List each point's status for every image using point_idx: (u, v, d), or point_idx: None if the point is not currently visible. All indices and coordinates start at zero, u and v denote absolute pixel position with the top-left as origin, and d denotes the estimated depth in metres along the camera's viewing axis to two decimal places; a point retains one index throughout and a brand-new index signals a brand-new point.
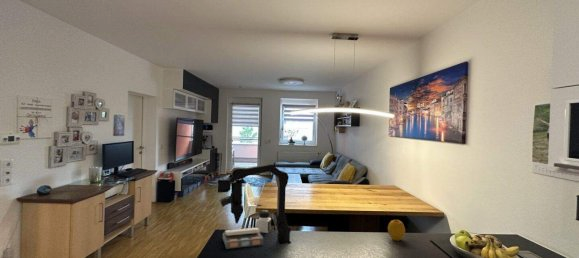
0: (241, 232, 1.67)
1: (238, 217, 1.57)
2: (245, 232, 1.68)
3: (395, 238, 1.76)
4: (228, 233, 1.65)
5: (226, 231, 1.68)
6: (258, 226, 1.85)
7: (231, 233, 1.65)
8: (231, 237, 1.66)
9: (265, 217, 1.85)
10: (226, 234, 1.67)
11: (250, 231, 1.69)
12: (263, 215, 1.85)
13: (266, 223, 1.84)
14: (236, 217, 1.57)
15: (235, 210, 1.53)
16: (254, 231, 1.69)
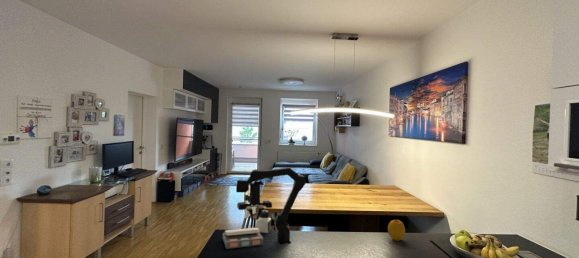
0: (241, 232, 1.67)
1: (250, 215, 1.68)
2: (245, 232, 1.68)
3: (395, 238, 1.76)
4: (228, 233, 1.65)
5: (226, 231, 1.68)
6: (258, 226, 1.85)
7: (231, 233, 1.65)
8: (231, 237, 1.66)
9: (265, 217, 1.85)
10: (226, 234, 1.67)
11: (250, 231, 1.69)
12: (263, 215, 1.85)
13: (266, 223, 1.84)
14: (250, 214, 1.69)
15: (237, 206, 1.68)
16: (254, 231, 1.69)
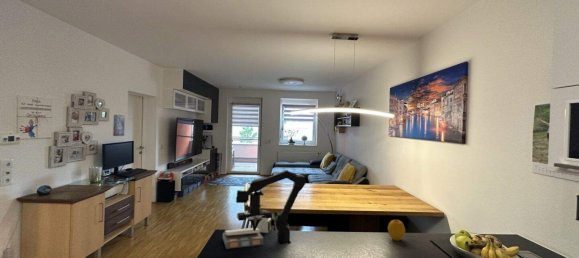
0: (241, 232, 1.67)
1: (252, 225, 1.69)
2: (245, 232, 1.68)
3: (395, 238, 1.76)
4: (228, 233, 1.65)
5: (226, 231, 1.68)
6: (258, 226, 1.85)
7: (231, 233, 1.65)
8: (231, 237, 1.66)
9: (265, 217, 1.85)
10: (226, 234, 1.67)
11: (250, 231, 1.69)
12: None
13: (266, 223, 1.84)
14: None
15: (237, 217, 1.68)
16: (254, 231, 1.69)
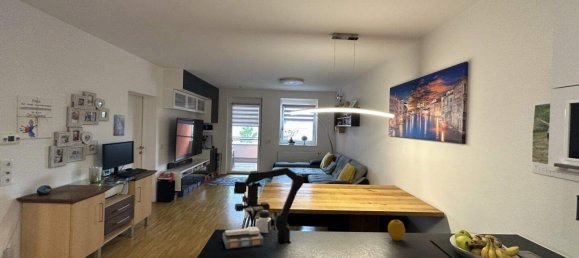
0: (241, 232, 1.67)
1: (249, 216, 1.68)
2: (245, 232, 1.68)
3: (395, 238, 1.76)
4: (228, 233, 1.65)
5: (226, 231, 1.68)
6: (258, 226, 1.85)
7: (231, 233, 1.65)
8: (231, 237, 1.66)
9: (265, 217, 1.85)
10: (226, 234, 1.67)
11: (250, 232, 1.69)
12: (263, 215, 1.85)
13: (266, 223, 1.84)
14: (249, 215, 1.69)
15: (235, 207, 1.67)
16: (254, 232, 1.69)
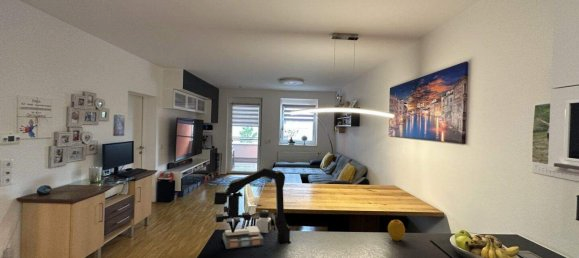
0: (241, 232, 1.67)
1: (230, 227, 1.65)
2: (245, 232, 1.68)
3: (395, 238, 1.76)
4: (228, 233, 1.65)
5: (226, 231, 1.68)
6: (258, 226, 1.85)
7: (231, 233, 1.65)
8: (231, 237, 1.66)
9: (265, 217, 1.85)
10: (226, 234, 1.67)
11: (250, 233, 1.69)
12: (263, 215, 1.85)
13: (266, 223, 1.84)
14: (230, 226, 1.66)
15: (215, 218, 1.63)
16: (254, 233, 1.69)
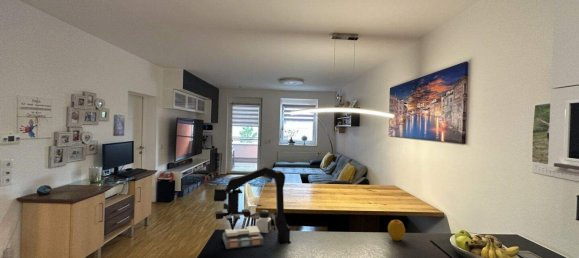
0: (241, 232, 1.67)
1: (230, 224, 1.65)
2: (245, 232, 1.68)
3: (395, 238, 1.76)
4: (228, 234, 1.64)
5: (226, 231, 1.68)
6: (258, 226, 1.85)
7: (231, 234, 1.65)
8: (231, 237, 1.66)
9: (265, 217, 1.85)
10: (226, 234, 1.67)
11: (250, 233, 1.69)
12: (263, 215, 1.85)
13: (266, 223, 1.84)
14: (230, 223, 1.66)
15: (215, 215, 1.63)
16: (254, 233, 1.69)
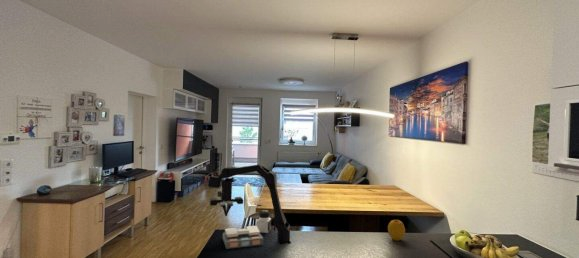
0: (241, 232, 1.67)
1: None
2: (245, 232, 1.68)
3: (395, 238, 1.76)
4: (228, 235, 1.64)
5: (226, 231, 1.68)
6: (258, 226, 1.85)
7: (231, 235, 1.65)
8: (231, 237, 1.66)
9: (265, 217, 1.85)
10: (226, 235, 1.67)
11: (250, 233, 1.69)
12: (263, 215, 1.85)
13: (266, 223, 1.84)
14: None
15: (209, 202, 1.73)
16: (254, 233, 1.69)
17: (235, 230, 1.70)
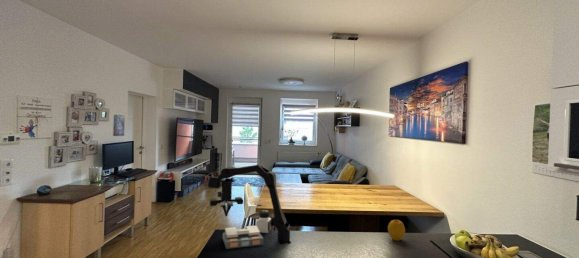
0: (241, 232, 1.67)
1: None
2: (245, 232, 1.68)
3: (395, 238, 1.76)
4: (228, 236, 1.64)
5: (226, 231, 1.68)
6: (258, 226, 1.85)
7: (231, 236, 1.65)
8: None
9: (265, 217, 1.85)
10: (226, 235, 1.67)
11: (250, 233, 1.69)
12: (263, 215, 1.85)
13: (266, 223, 1.84)
14: None
15: (209, 202, 1.74)
16: (254, 233, 1.69)
17: (235, 230, 1.70)
